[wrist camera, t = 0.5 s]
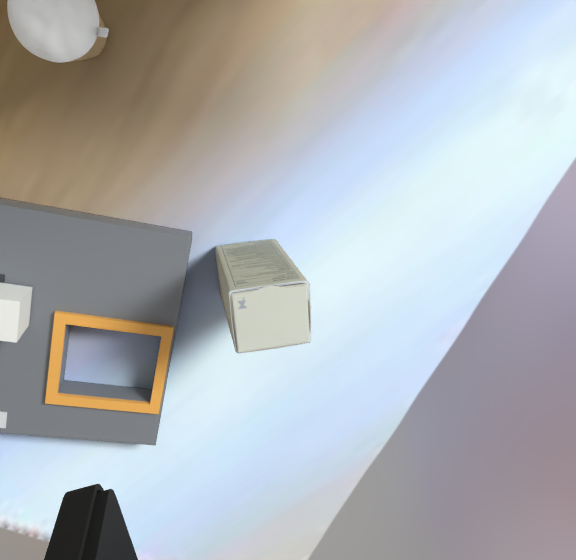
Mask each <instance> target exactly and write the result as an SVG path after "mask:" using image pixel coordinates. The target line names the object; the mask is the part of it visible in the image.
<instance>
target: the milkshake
mask: <svg viewBox="0 0 576 560" xmlns="http://www.w3.org/2000/svg"><path fill="white" fill-rule="evenodd" d="M7 12H8V18H9V22H10V25H11V28H12V30H13V32H14V34H15V36H16V38H17V39H18V41H19V42H20V43H21V44H22V45H23V46H24V47H25V48H26V49H27V50H28V51H29V52H31V53H32V54H34V55H36V56H38V57H40V58H42V59H45V60H48V61H51V62H58V63H62V62H69V61H82V60H87V59H90V58H93V57H97V56H99V54H100V53H101V51H102V50H103V48H104V46H105V45H106V43H107V41H106V38H107V37H108V33H109V28H105V25H104V22H103V20H102V18H101V16H100V14H99V12H98V9H97V5H96V3H95V1H94V0H8V3H7Z"/></svg>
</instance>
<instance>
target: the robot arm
mask: <svg viewBox="0 0 576 560" xmlns="http://www.w3.org/2000/svg"><path fill="white" fill-rule="evenodd" d="M44 560H138V559H137V556H136V553H135V550H134V547H133V544H132V541H131V538H130V536H129V533H128V530H127V527H126V524H125V521H124V518H123V515H122V512H121V509H120V507H119V504H118V501H117V498H116V495H115V493H114V491H113V490H112V489H109V490H105V491H104V490H103V488H102V487H101V485H100V484H95V485H92V486H88V487H84V488H80V489H77V490H73V491H69V492H67V493H65V495H64V497H63V500H62V504H61V507H60V510H59V513H58V517H57V520H56V523H55V526H54V529H53V533H52V536H51V539H50V542H49V546H48V549H47V552H46V555H45V559H44Z"/></svg>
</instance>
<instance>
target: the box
mask: <svg viewBox="0 0 576 560" xmlns="http://www.w3.org/2000/svg"><path fill="white" fill-rule="evenodd" d="M215 251H216V263H217V273H218V280H219V287H220V293H221V297H222V301H223V305H224V309H225V312H226V316H227V320H228V324H229V328H230V332H231V336H232V340H233V343H234V347H235V351H236V352H237V353H245V352H253V351H260V350H268V349H274V348H281V347H287V346H293V345H299V344H305V343H310V342H311V306H310V284H309V282H308V281H307V280H306V278H305V277H304V276H303V275H302V273H301V272H300V271H299V269H298V268H297V267H296V265H295V264H294V263H293V261H292V260H291V259H290V258H289V256H288V255H287V254H286V252H285V251H284V250H283V248H282V247H281V246H280V244H279V243H278V242H277V240H275V239H270V240H258V241H249V242H242V243H233V244H227V245H220V246H216V248H215Z"/></svg>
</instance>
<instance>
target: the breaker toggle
mask: <svg viewBox="0 0 576 560" xmlns="http://www.w3.org/2000/svg"><path fill="white" fill-rule="evenodd" d="M31 297H32V287H28V286H21V285H14V284H7V283H0V341H7V342H15V343H17V341H18V340H19V339H20V337H21V336H22V334H23V333H24V331H25V330H26V329H27V327H28V326H29V319H30V308H31Z"/></svg>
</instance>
